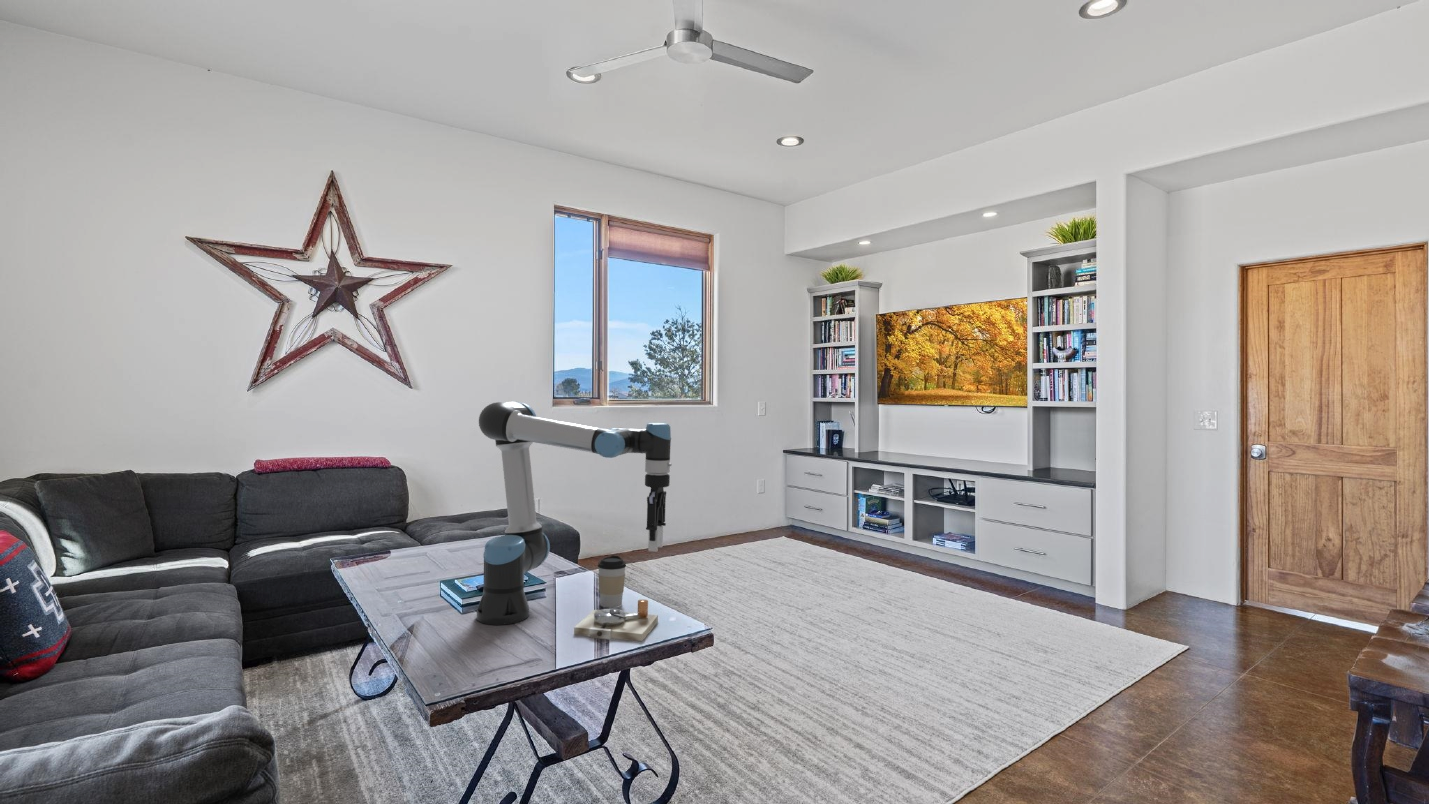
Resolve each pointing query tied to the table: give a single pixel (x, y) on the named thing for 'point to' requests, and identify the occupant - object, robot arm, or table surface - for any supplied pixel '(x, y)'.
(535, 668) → the table surface
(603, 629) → the stand
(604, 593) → the coffee cup
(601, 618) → the cam capstan
